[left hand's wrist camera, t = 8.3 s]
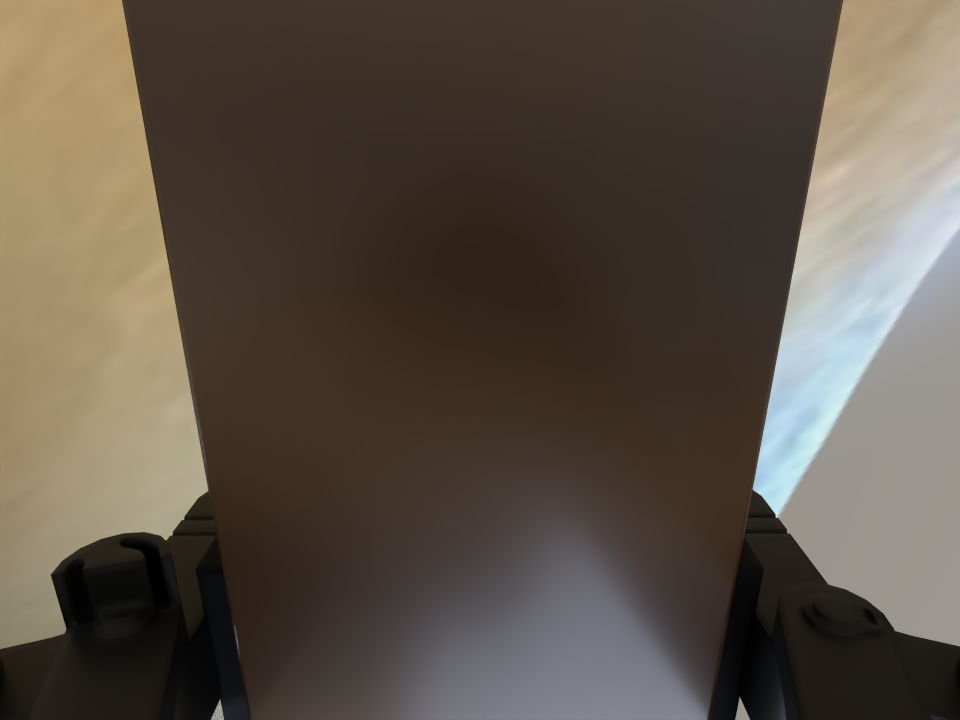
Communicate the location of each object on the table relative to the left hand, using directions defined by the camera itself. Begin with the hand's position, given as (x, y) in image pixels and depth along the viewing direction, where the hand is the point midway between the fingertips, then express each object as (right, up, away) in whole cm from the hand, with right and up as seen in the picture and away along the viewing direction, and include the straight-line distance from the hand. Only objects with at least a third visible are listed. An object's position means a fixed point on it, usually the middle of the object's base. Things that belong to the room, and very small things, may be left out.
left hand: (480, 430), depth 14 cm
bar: (0, +22, -8) cm, 24 cm away
